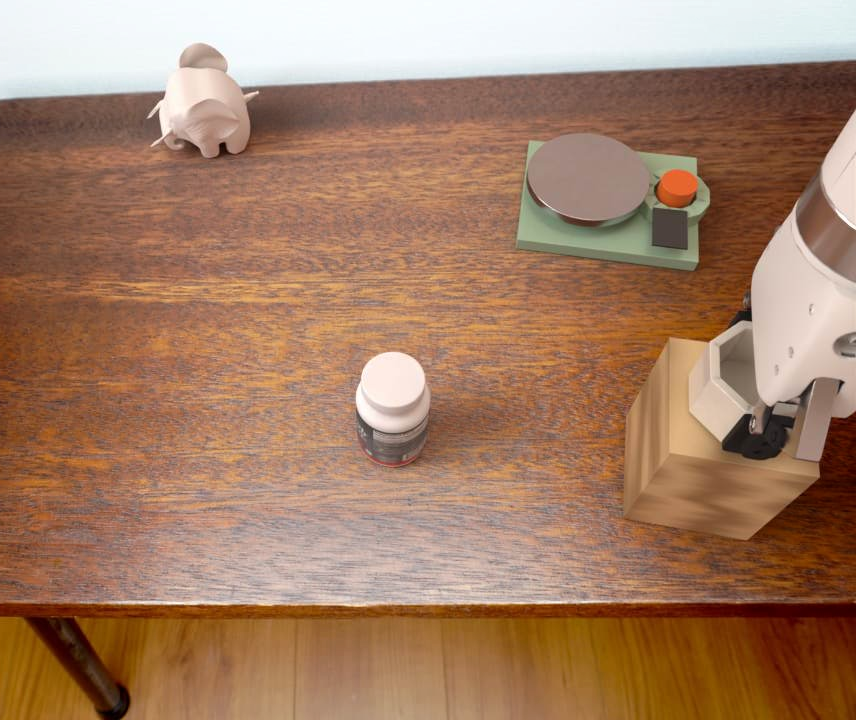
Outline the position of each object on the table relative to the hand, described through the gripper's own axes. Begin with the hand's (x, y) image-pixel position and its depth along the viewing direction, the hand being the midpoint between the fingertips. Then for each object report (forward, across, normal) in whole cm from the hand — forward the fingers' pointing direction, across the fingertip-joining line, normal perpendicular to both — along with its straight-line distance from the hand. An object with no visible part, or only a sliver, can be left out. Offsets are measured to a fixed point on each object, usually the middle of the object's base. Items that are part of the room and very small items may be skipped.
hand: (745, 397), depth 53 cm
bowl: (+1, 0, 0) cm, 1 cm away
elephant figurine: (+13, +30, +48) cm, 58 cm away
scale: (+13, +27, +7) cm, 31 cm away
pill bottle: (+13, -1, +23) cm, 26 cm away
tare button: (+10, +27, +2) cm, 29 cm away
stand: (+13, 0, 0) cm, 13 cm away
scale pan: (+10, +26, +8) cm, 29 cm away
